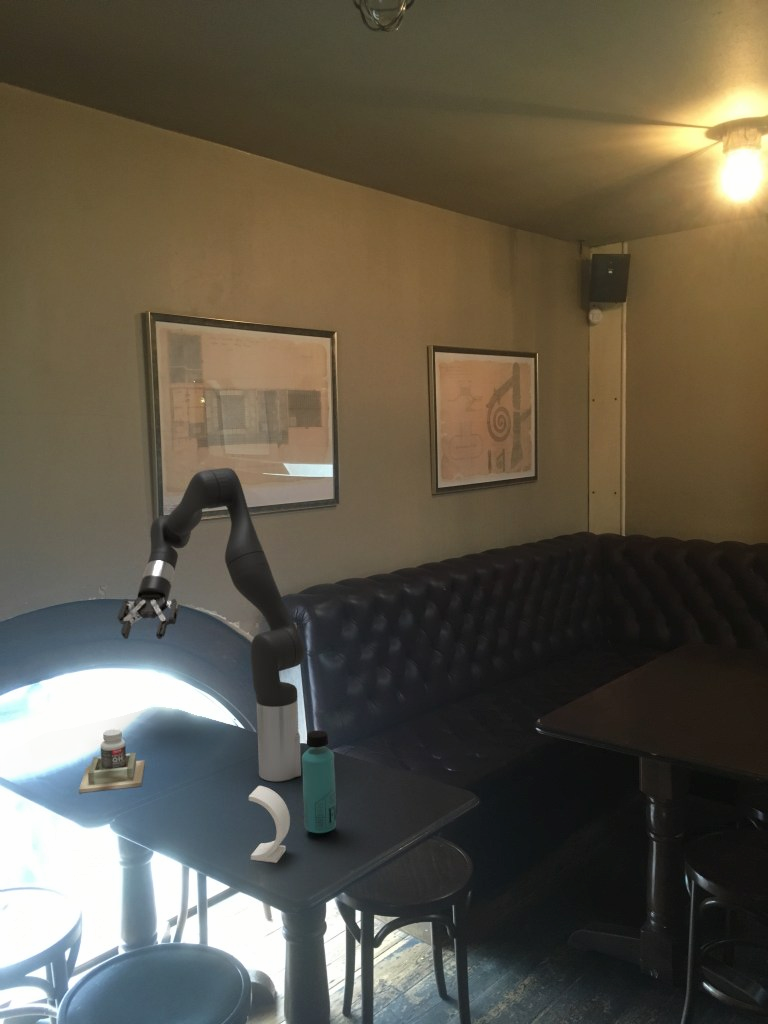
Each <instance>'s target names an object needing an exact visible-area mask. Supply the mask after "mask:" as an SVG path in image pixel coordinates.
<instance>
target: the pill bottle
mask: <svg viewBox="0 0 768 1024" xmlns="http://www.w3.org/2000/svg"><path fill="white" fill-rule="evenodd" d="M102 735H103V737H102V738H103V741H102V742H101V744H100V756H101V765H102V770H104V769H114V768H124V767H126V754H127V753H126V752H127V751H126V741H125V740H124V738H122V736H123V733H122V730H121V729H115V728H114V729H108V730H106V731H104V732H103V733H102Z"/></svg>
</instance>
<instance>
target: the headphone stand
mask: <svg viewBox="0 0 768 1024" xmlns="http://www.w3.org/2000/svg"><path fill="white" fill-rule="evenodd" d="M248 801H249V802H254V803H256V804H259V805H260V806H262V807H263V808H265V809H266V810H267V811H268V812H269V814H270V816H271V817H272V819H273V821H274V824H275V829H276V836H275V840H273V841H269V842H264V843H263V842H262V843H260V844H259V845H258V846H257V847H256V849H255V850H254V851H253V852H252V853H251V855H250V860H251V861H258V862H266V863H275V864H276V863H277V862H279V860H280V859H281V858H282V856H283V855H284V853H286V849H287V848H286V845H281V844H282V842H283V841H284V839H285V838H286V836H287V835H288V832H289V831H290V826H291V825H290V824H291V816H290V811H289V809H288V806H287V804H286V802H285V801H284V799H283V798H282V796H280V795H279V794H278V793H277V792H276V791H274V790H272V789H271V788H269V787H266V786H263V785H258V786H257V787H255V789H253V791H252V792H251V793H250V794H249V795H248Z"/></svg>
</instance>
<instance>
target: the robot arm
mask: <svg viewBox="0 0 768 1024" xmlns="http://www.w3.org/2000/svg"><path fill="white" fill-rule="evenodd" d="M223 507H226V508H227V510H228V514H229V518H230V523H231V525H230V526H231V527H230V533H229V536H228V540H227V544H226V547H225V553H224V561H225V565H226V568H227V570H228V574H229V576H230V579H231V583H232V584H233V585H234V587H235V589H236V590H237V591H238V592H239V594H240V595H242V596H243V597H244V598H245V599H246V600H247V601H248V602H250V603H251V604H252V605H253V606H254V607H255V608H256V609H257V610H258V611H259V612H260V613H261V615H262V616H263V617H264V619H265V621H266V622H267V625H268V628H269V629H270V630H268V631H264V632H260V633H257V634H256V635H255V636H254V637H253V638H252V641H251V644H250V662H251V663H250V665H251V674H252V685H253V689H254V692H255V698H256V722H257V724H256V726H257V747H258V748H257V749H258V750H257V752H258V754H257V755H258V775H259V777H260V778H261V779H262V780H263V781H264V780H265V781H268V782H285V781H289V780H292V779H295V778H297V777H302V764H301V763H302V756H301V735H300V733H299V707H298V704H299V703H298V702H299V700H298V688H297V686H296V685H294V684H292V683H290V682H286V681H281V677H280V672H281V671H284V670H288V669H292V668H295V667H298V666H299V665H301V664H302V662H303V660H304V656H305V649H304V647H305V646H304V644H303V640H302V637H301V635H300V632H299V630H298V629H297V626H296V624H295V622H294V620H293V618H292V616H291V614H290V612H289V611H288V609H287V606H286V605H285V603H284V600H283V597H282V595H281V592H280V590H279V588H278V586H277V583H276V580H275V578H274V576H273V572H272V570H271V567H270V564H269V562H268V558H267V556H266V554H265V552H264V548H263V546H262V544H261V542H260V540H259V537H258V534H257V531H256V529H255V526H254V523H253V521H252V518H251V514H250V511H249V507H248V503H247V500H246V496H245V493H244V490H243V487H242V484H241V480H240V478H239V476H238V474H237V473H236V472H235V470H234V469H232V468H231V467H223V468H222V467H221V468H213V469H207V470H202V471H198V472H196V473H195V474H193V476H192V478H191V479H190V481H189V482H188V485H187V487H186V489H185V492H184V493H183V496H182V498H181V500H180V502H179V504H178V505H176V506H175V508H174V509H173V510H172V511H171V512H170V513H169V515H168V516H167V515H159V516H158V517H156V518H155V519H154V520H153V521H152V523H151V526H150V530H149V531H150V532H149V533H150V534H149V535H150V537H149V538H150V555H149V558H148V562H147V565H146V568H145V570H144V571H143V576H142V579H141V582H140V585H139V589H138V592H137V597H136V599H135V600H129V599H127V598H124V600H123V601H122V604H121V607H120V609H119V612H118V614H117V619H118V621H119V623H120V624H121V625H122V627H121V631H120V634H121V635H122V637H123V639H125V640H128V639H129V637H130V633H131V629H132V625H133V624H134V623H136V622H138V621H140V620H141V619H142V618H143V619H148V618H150V619H155V618H157V617H158V618H159V620H160V621H159V622H158V626H157V631H156V638H157V639H158V640H161V639H162V638H163V637H164V636H165V634H166V632H167V627H168V626H169V625H175V624H177V619H178V613H179V606H180V605H179V602H178V601H177V599H176V598H172V599H171V601H170V600H169V597H170V593H171V589H172V585H173V584H174V583H173V582H174V577H175V570H176V566H177V562H178V558H179V553H178V552H177V550H176V549H182V548H185V547H186V546H187V544H188V543H189V542H190V539H191V538H190V537H191V534H192V531H193V530H194V529H195V528H196V527H197V526H198V525H199V524H200V522H201V521H202V519H203V510H205V509H209V510H210V509H216V508H217V509H218V508H223ZM168 600H169V601H168ZM132 608H133V609H132ZM167 608H169V613H168V616H167V617H165V614H164V613H163V612H164V611H165V610H166V609H167Z"/></svg>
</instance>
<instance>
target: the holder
mask: <svg viewBox="0 0 768 1024" xmlns="http://www.w3.org/2000/svg"><path fill="white" fill-rule="evenodd" d="M136 756H137V753H136V752H130V753H126V767H124V768H114V769H104V770H102V765H101V755H99V756H93V758H92V760H91V764H90V765H87V766H86V768H85V771H84V773H83V777H82V779H81V782H80V786H79V788H78V793H79V794H81V793H91V792H100V791H108V790H109V791H110V790H119V789H126V788H127V789H128V788H135V787H142V783H143V777H144V771H145V764H146V762H145V759H144V760H143V759H142V760H137V757H136Z"/></svg>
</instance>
